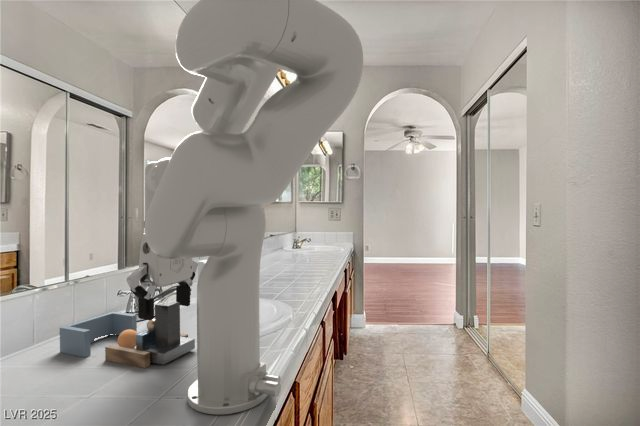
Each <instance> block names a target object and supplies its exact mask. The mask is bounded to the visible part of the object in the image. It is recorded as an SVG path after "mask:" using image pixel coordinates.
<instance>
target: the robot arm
mask: <svg viewBox="0 0 640 426" xmlns="http://www.w3.org/2000/svg"><path fill="white" fill-rule="evenodd" d="M174 45H175V47H174V48H175V49H174V50H175V56H176V59H177V62H178V63H179V65H180V67H181V68H183V70H184V71H186V72H188V73H190V74H192V75H197V76H198V77H199V76H201V77H204V78H205V79H204V81H203V83H202V85H201V87H200V89H199V91H198V94H197V96H196V98H195V99H194V102H193V103H192V106H191V115H192V118H193V120H194V122H195V123H196V125H197V126H198V127H199V128H200V129H201V130H198V131H195V132H193V133H190V134H188V135H187V136H185V137H184V138H183V139H182V140H181V141H179V143H178V144H177V145H176V147H175V149H174V151H173V152H172V154H171V156H170V157H164V158H161V159H159V160H158V161H151V162H148V163H147V164H146V166H145V169H144V221H142V224H141V226H142V227H143V228H144V233H143V234H142V237H141V238H142V239H141V242H140V249H139V260H138V268H136V270H134V271H133V272H132V273H131V274H129V275H128V276H127V278H126V283H127V284H128V286H129V288H130V292H131V293H132V294H133V295H134V296H135V298H137V299H138V301H137V302H138V305H137V307H138V308H137V309H138V311H137V312H138V315H137V316H138V319H141V320H145V321H146V320H147V321H149V320H152V319H155V299H154V297H152V296H153V294H154V293H155V290H156V289H157V288H164V287H168V286H171V285H175V284H178V285H176V286H175V291H176V293H175V302H180V306H183V307H190V306H191V287H192V286H193V283H194V282H193V280H194V278H195V277H196V271H197V270H198V262H196V261H194V258H203V257H208V258H207V259H206V260H207V261H206V263H205V265H204V267H203V269H202V271H201V273H200V276H199V279H198V278H197V285H196V338H197V339H196V346H197V347H196V351H197V352H196V353H197V355H196V356H197V359H196V360H197V363H196V364H197V365H196V366H197V368H196V370H197V371H196V372H197V379H196V380H195V381H194V382H192V384H191V385H189V387H188V389H187V391H186V401H187V404H188V406H190V407H191V408H192V409H194V410H195V411H197V412H200V413H203V414H207V415H218V416H219V415H221V416H222V415H231V414H236V413H241V412H244V411H247V410H251V409H252V408H254V407H256V406H258V405H259V404H261V403H262V402H263V401H265V399H267V398H268V396H271V397H278V396H279V395H280V393H281V389H282V385H281V380H282V379H281V375H277V374H268V372H267V363H266V362H264V361H261V360H260V357H261V355H260V354H261V353H260V352H261V351H260V350H261V348H260V342H261V341H260V339H261V337H260V335H261V334H260V331H261V329H260V328H261V327H260V325H261V324H260V281H261V280H260V278H261V277H260V275H261V274H260V273H261V271H260V270H261V258H262V251H263V243H264V240H265V239H264V238H265V233H266V224H267V223H266V221H267V220H266V219H267V218H266V214H265V211H264V208H263V207H264V206H269V205H271V204H273V203H275V202H277V200H278V199H280V197H281V196H282V195H283V193H285V190H286V189H287V188H288V187H289V186H290V184H291V182H292V181H293V179H294V178H295V177H296V176H297V174H298V172H299V171H300V170H301V168H302V166H304V164H305V162H307V159H309V156H310V155H311V153H312V152H313V150H314V149H315V147H316V146H317V145H318V144H319V142H320V141H321V139H322V138H323V137H324V135H325V134H326V133H327V132H328V131H329V130H330V128H331V127H332V126H333V125H334V124H335V123H336V121H337V120H338V119H339V118H340V117H341V116H342V115H343V113H344V112H345V111H346V110H347V108H348V106H349V105H350V104H351V102H352V100H353V99H354V97H355V95H356V94H357V91H358V88H359V87H360V84H361V79H362V75H363V69H364V51H363V46H362V42H361V39H360V37H359V35H358V34H357V31H356V30H355V29H354V27H353V26H352V25H351V23H349V21H348V20H346V18H344V17H343V16H342V15H340V14H339V13H338V12H336V11H335V10H333V9H332V8H330V7H329V6H327V5H325V4H323V3H321V2H319V1H318V0H199V1H198V2H196V3H195V4H194V6H192V7H191V8H190V9H189V10H188V12H187V13H186V15H185V16H184V18H183V19H182V20H181V23H180V25H179V27H178V30H177V33H176V38H175V44H174ZM280 70H282V71H286V72H289V73H290V74H291V73H292V74H293V75H294V74H295V76H296V78H295V80H294V81H292V82H291V83H289V84H287V85H285V86H283V87H282V88H280V89H279V90H278V91H276V92H275V93H274V94H273V95H271V96H269V98H268V99H267V100H266V101H265V102H264V103H263V104H262V105H261V106H260V104H261V102H262V100H263V99H264V97H265V95H266V94H267V92H268V90H269V89H270V87H271V85H272V84H273V82H274V80H275V79H276V78H277V76H278V73H279V71H280ZM258 106H260V108H259V110H258V112H257V114H256V116H255V117H254V119H253V121H252V123H251V124H250V125H249V127H248V128H247V129H246V130H245V131H244V129H245V128H246V126H247V124H248V123H249V121H250V120H251V118H252V116H253V115H254V114H255V112H256V110H257V108H258ZM243 131H244V132H243Z"/></svg>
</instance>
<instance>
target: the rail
mask: <svg viewBox="0 0 640 426" xmlns="http://www.w3.org/2000/svg"><path fill="white" fill-rule="evenodd" d="M180 336H181V337H187V338H189V334H187V333H182V332H180ZM104 349H105V350H104V353H105V358H104V359H105V361H107V362H114V363H118V364H122V365H126V366H127V365H128V366H133V367H139V368H141V369H146V368H148V367H150V366H151V362H150V352H146V351H141V350H136V348H132V349H130V348H125V347H119V345H113V344H109V345H107V346H105V347H104Z"/></svg>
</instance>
